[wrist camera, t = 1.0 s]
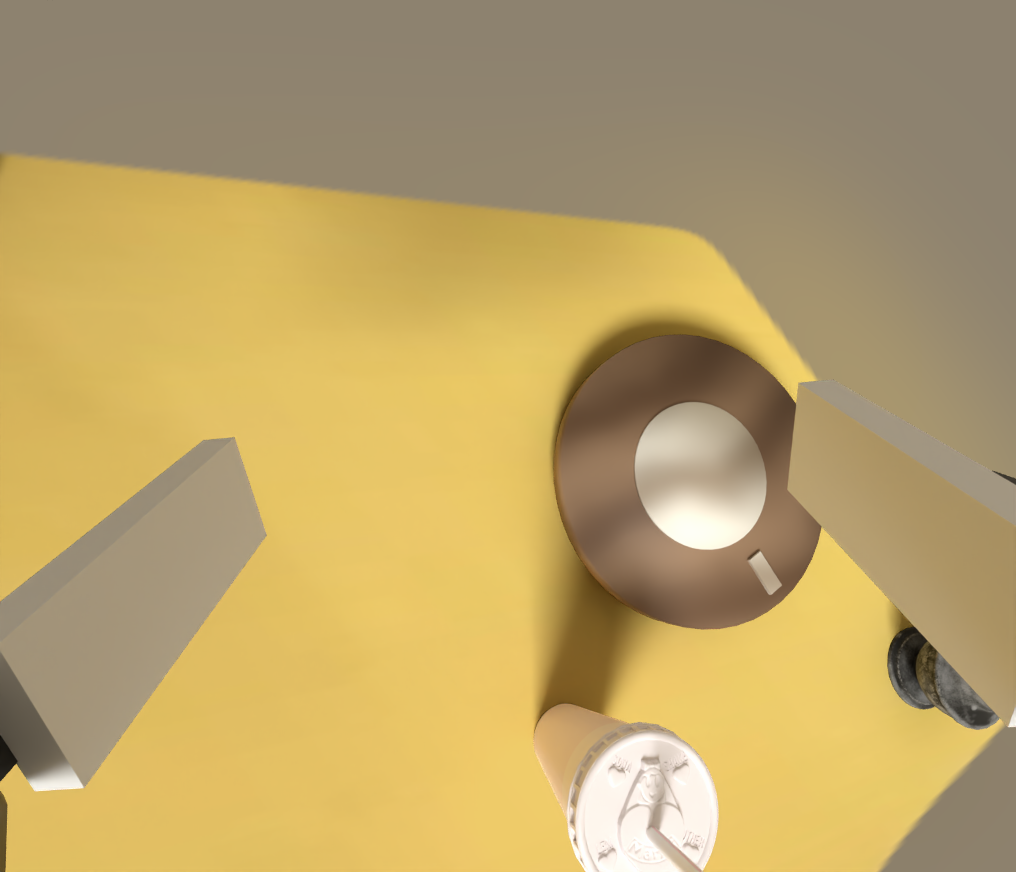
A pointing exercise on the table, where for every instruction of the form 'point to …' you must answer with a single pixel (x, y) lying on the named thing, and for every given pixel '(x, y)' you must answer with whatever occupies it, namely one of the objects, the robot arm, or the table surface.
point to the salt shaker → (934, 681)
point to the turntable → (684, 483)
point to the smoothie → (628, 792)
